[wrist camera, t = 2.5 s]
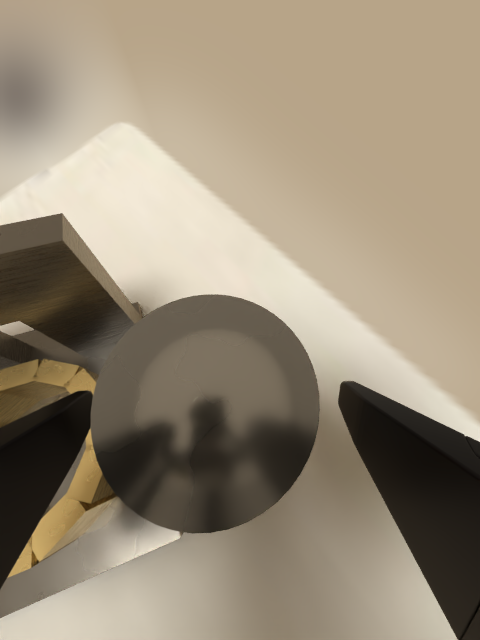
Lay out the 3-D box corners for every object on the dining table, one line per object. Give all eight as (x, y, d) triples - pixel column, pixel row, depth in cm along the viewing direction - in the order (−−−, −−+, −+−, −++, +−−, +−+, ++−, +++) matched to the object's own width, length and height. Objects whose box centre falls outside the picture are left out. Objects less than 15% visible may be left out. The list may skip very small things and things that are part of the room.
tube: (262, 468, 14) (336, 544, 4) (183, 464, 14) (47, 528, 4) (262, 388, 16) (311, 297, 6) (194, 384, 16) (124, 288, 6)
